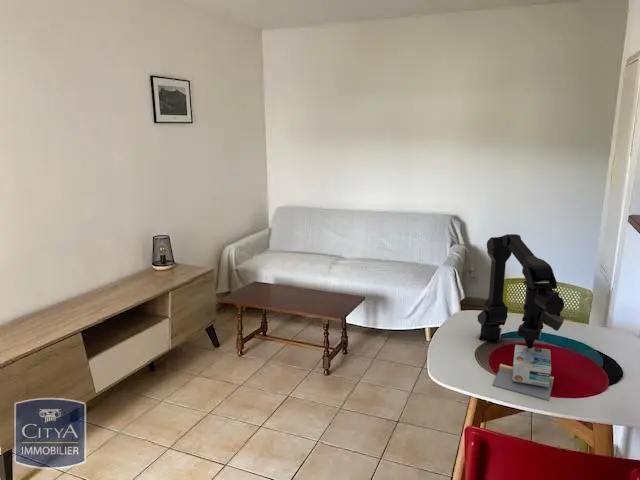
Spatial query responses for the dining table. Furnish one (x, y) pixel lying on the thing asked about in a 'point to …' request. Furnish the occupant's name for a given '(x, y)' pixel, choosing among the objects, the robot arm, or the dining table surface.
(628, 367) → the dining table surface
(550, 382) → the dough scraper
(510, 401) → the dining table surface
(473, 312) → the dining table surface
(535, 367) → the light bulb box
